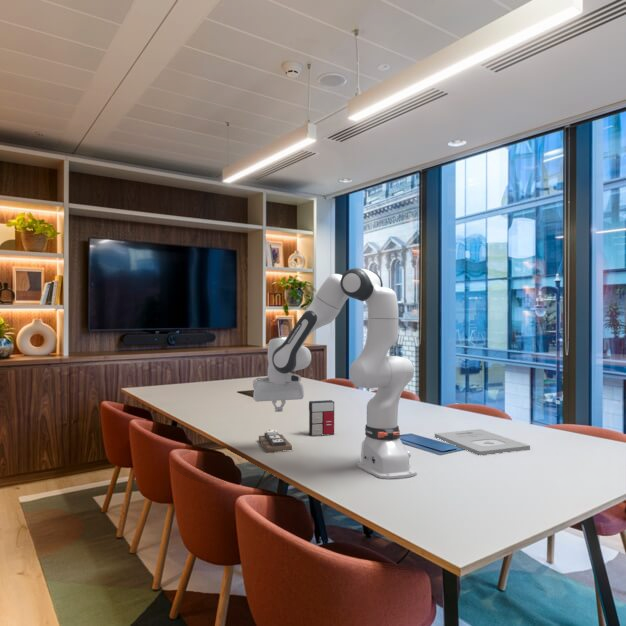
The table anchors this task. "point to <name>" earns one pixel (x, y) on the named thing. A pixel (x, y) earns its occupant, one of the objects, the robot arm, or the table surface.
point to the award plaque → (482, 442)
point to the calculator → (321, 417)
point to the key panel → (272, 446)
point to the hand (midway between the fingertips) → (278, 411)
